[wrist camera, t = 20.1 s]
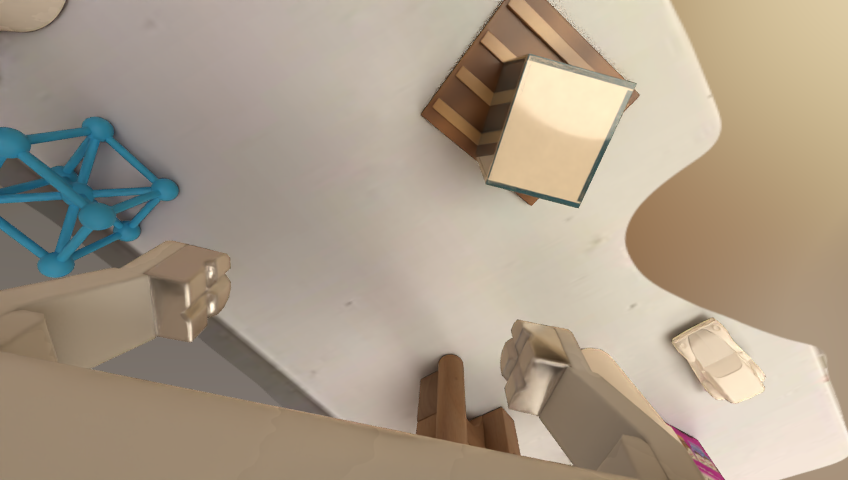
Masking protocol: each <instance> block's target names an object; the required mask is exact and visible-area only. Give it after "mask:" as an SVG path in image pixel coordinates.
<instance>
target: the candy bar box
mask: <svg viewBox="0 0 848 480" xmlns="http://www.w3.org/2000/svg"><path fill="white" fill-rule="evenodd" d="M666 424H667V423H666ZM667 425H669V424H667ZM669 426H670V427H672V429H673V430H674V432H675V433H676V435H677V437H678V438H679V440H680V441H681V443H682V444H683V446H684V447H685V448H686V450H687V451H688V453H689V454H690V456H691V457H692V459H693V461H694V462H695V464H696V465H697V467H698V468H699V470H700V471H701V473H702V474H703V476H704V477H705V479H706V480H725V479H724V478H723V476H722V475H721V473H720V472H719V471H718V469H717V468H716V466H715V465H714V463H713V462H712V460H711V459H710V457H709V456H708V454H707V453H706V452H705V450H704V449H703V447H702V446H701V444H700V443H699V441H698V440H697V439H695V438H693V437H691V436H689V435H688V434H686V433H684V432H682V431H680V430H678V429H676V428H675V427H673V426H671V425H669Z"/></svg>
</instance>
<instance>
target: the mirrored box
mask: <svg viewBox="0 0 848 480" xmlns="http://www.w3.org/2000/svg"><path fill="white" fill-rule="evenodd" d="M635 86H636V83H634V82H630V81H626V80H623V79H619V78H616V77H612V76H609V75H605V74H601V73H598V72H594V71H591V70H587V69H584V68H580V67H576V66H573V65H569V64H566V63H562V62H559V61H555V60H551V59H548V58H544V57H541V56H537V55H534V54H526V55H523V56H519V57H516V58H513V59H509V60H506V61H504V62H503V66H502V69H501V72H500V75H499V78H498V82H497V85H496V88H495V91H494V95H493V98H492V101H491V104H490V108H489V111H488V114H487V117H486V121H485V124H484V127H483V130H482V134H481V137H480V140H479V143H478V147H477V151H476V153H475V155H476V158H477V161H478V164H479V167H480V169H481V172H482V175H483V178H484V181H485V183H486V184H487V185H491V186H495V187H498V188H502V189H506V190H510V191H514V192H518V193H521V194H525V195H529V196H533V197H537V198H541V199H545V200H548V201H552V202H556V203H560V204H564V205H568V206H571V207H575V208H579V206H580V204H581V202H582V200H583V198H584V196H585V193H586V191H587V189H588V187H589V185H590V183H591V181H592V178H593V176H594V174H595V172H596V170H597V168H598V166H599V163H600V161H601V159H602V157H603V155H604V153H605V151H606V148H607V146H608V144H609V142H610V140H611V138H612V136H613V133H614V131H615V129H616V127H617V125H618V123H619V121H620V118H621V116H622V114H623V112H624V110H625V108H626V106H627V103H628V101H629V99H630V97H631V95H632V93H633V90H634V88H635Z"/></svg>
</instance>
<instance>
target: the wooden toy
mask: <svg viewBox="0 0 848 480" xmlns="http://www.w3.org/2000/svg"><path fill="white" fill-rule="evenodd" d="M417 422H418V423H417V430H416V434H417V435H422V436H426V437H431V438H436V439H441V440H446V441H451V442H456V443H461V444H466V445H471V446H476V447H481V448H486V449H490V450H495V451H500V452H505V453H510V454H516V455H520V450H519V444H518V439H517V434H516V429H515V424H514V420H513V419H512V418H511V417H510V416H509V415H508V414H507V412H506V411H505V410H504V409H503V408H502V407H501V408H498V409H496V410H494V411H491V412H489V413H487V414H485V415H483V416H479V417H477V418H475V419H472V420H470V421H468V419H467V418H466V405H465V386H464V367H463V362H462V360H461V359H460V358H459V357H458V356H456V355H445V356H443V357H442V358H441V359H440V361H439V364H438V371H437V372H435V373H433V374H431V375H429V376H427V377H425V378H423V379H421V381H420V392H419V403H418V414H417Z"/></svg>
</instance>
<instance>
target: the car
mask: <svg viewBox="0 0 848 480" xmlns="http://www.w3.org/2000/svg"><path fill="white" fill-rule="evenodd" d="M672 341H673V342H672V344H673V345H674V346H675V348H676V350H677V351H678V352H679V353H681V355H682V356H683V357H685V358H686V359H687V361H688V363H689V364H690V366H691V368H692V369H693V371H694V373H695V374H696V376H697V378H698V379H699V381H700V382H701V384H702V385H703V387H704V389H705V390H706V391H707V392H708V393H709V394H710V395H711V396H712V397H714V398H715V399H716V400H724V399H726V400H727V401H729V402H730V403H734V404H736V403H739V402H741V401H743V400H747V399H750V398H752V397H753V396H755V395H757V394H759V393H762V392H763V391H764V390H765V387H764V385H763V383H762V382H764V379H765V377H766V376H765V374H764V373H763V372H762V370H761V369H760V368H759V366H758V365H757V364H755V363H754V362H753V361H752V359H751V358H750V357H749V356H748V355H747V354H746V353H745V352H744V351H743V350H742V349H741V348H740V347H739V346H738V345H737V344H736V343H735V342H734V341H733V339H732V338H731V337H730V335H729V333H728V331H727V330H726V329H725V328H724V326H723V325H722V324H721V323H719V322H718V321H717V320H715V319H714V318H710V319H708V320H706V321H704V322H702V323H700V324H698V325H696V326H694V327H692V328H690V329H688V330H686V331H684V332H683V333H681V334H679V335H678V336H676V337H675V338H673V339H672Z"/></svg>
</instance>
